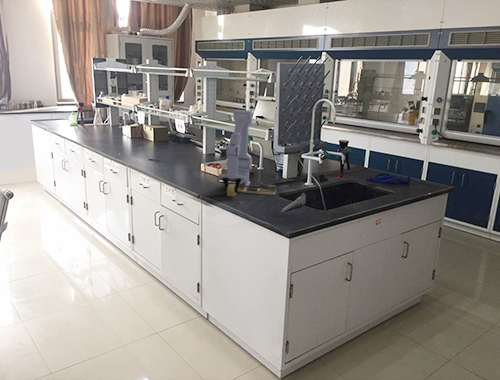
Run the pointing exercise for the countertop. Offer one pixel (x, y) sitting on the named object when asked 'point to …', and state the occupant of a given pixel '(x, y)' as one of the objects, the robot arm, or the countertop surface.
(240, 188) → the mechanism
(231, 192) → the coupler
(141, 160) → the countertop surface
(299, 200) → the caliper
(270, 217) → the countertop surface
